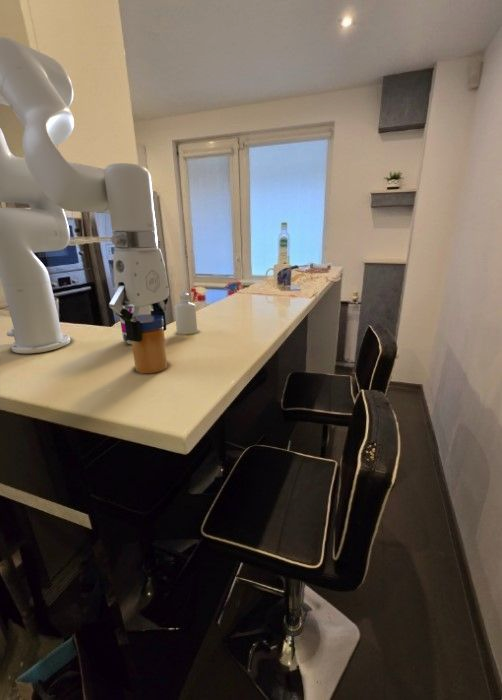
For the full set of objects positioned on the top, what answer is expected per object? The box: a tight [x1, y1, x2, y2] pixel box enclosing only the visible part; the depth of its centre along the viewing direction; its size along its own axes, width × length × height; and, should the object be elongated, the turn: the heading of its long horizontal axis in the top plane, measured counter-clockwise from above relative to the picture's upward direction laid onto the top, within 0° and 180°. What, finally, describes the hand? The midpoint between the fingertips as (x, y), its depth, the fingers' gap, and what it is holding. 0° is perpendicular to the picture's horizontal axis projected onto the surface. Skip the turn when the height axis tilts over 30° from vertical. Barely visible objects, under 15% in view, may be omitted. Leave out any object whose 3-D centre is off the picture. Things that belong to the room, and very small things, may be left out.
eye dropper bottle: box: [174, 288, 198, 335], centre depth 89 cm, size 4×6×12 cm
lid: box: [137, 314, 164, 331], centre depth 65 cm, size 7×7×2 cm
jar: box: [131, 327, 168, 374], centre depth 67 cm, size 6×6×10 cm
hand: (147, 334), depth 66 cm, fingers closed on lid, 6 cm apart
